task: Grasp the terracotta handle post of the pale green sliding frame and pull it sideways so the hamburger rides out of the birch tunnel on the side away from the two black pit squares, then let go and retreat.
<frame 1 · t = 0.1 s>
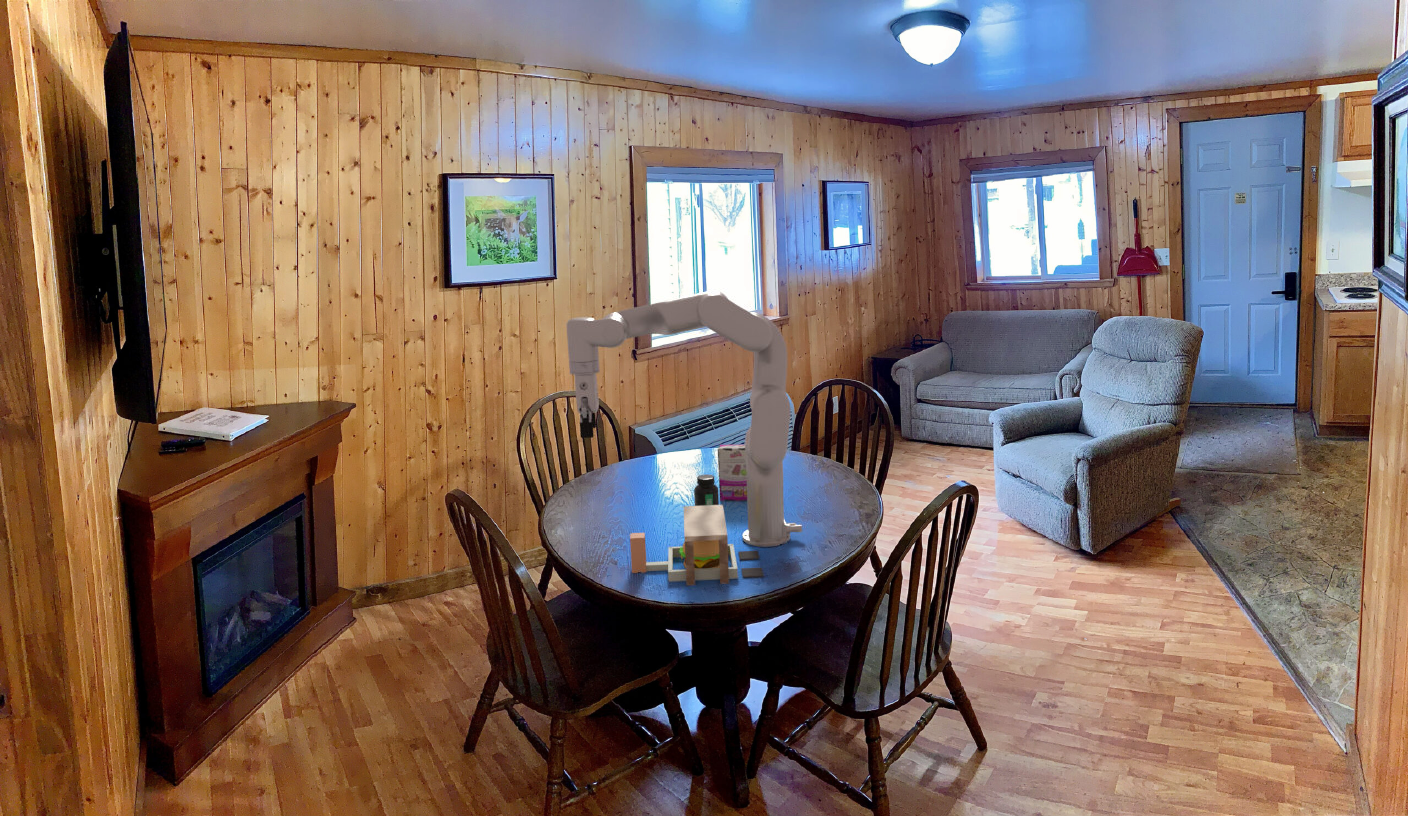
hand: (588, 432, 240), 31 cm above the table, tool pointing down, fingers open, 9 cm apart
pit square 1: (749, 556, 237), on the table
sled: (683, 550, 231), point 4 cm above the table, slide at 0.0 cm
tunnel: (706, 566, 232), on the table
hamburger: (704, 568, 232), on the table
pit square 2: (752, 573, 227), on the table
candy bar box: (738, 499, 282), on the table
supplement bottle: (707, 517, 267), on the table
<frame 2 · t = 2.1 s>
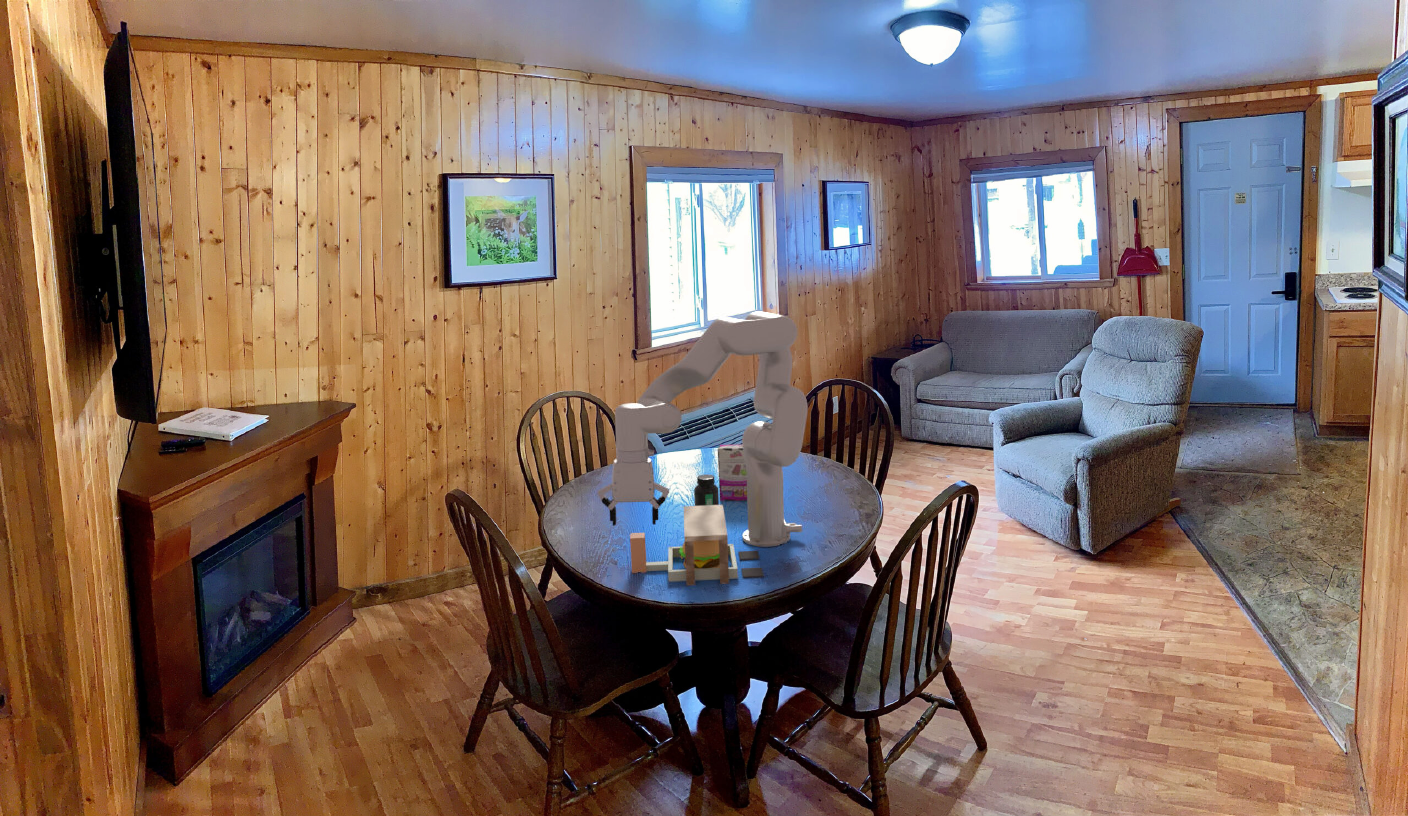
hand: (634, 523, 228), 12 cm above the table, tool pointing down, fingers open, 9 cm apart
nothing on the table moved.
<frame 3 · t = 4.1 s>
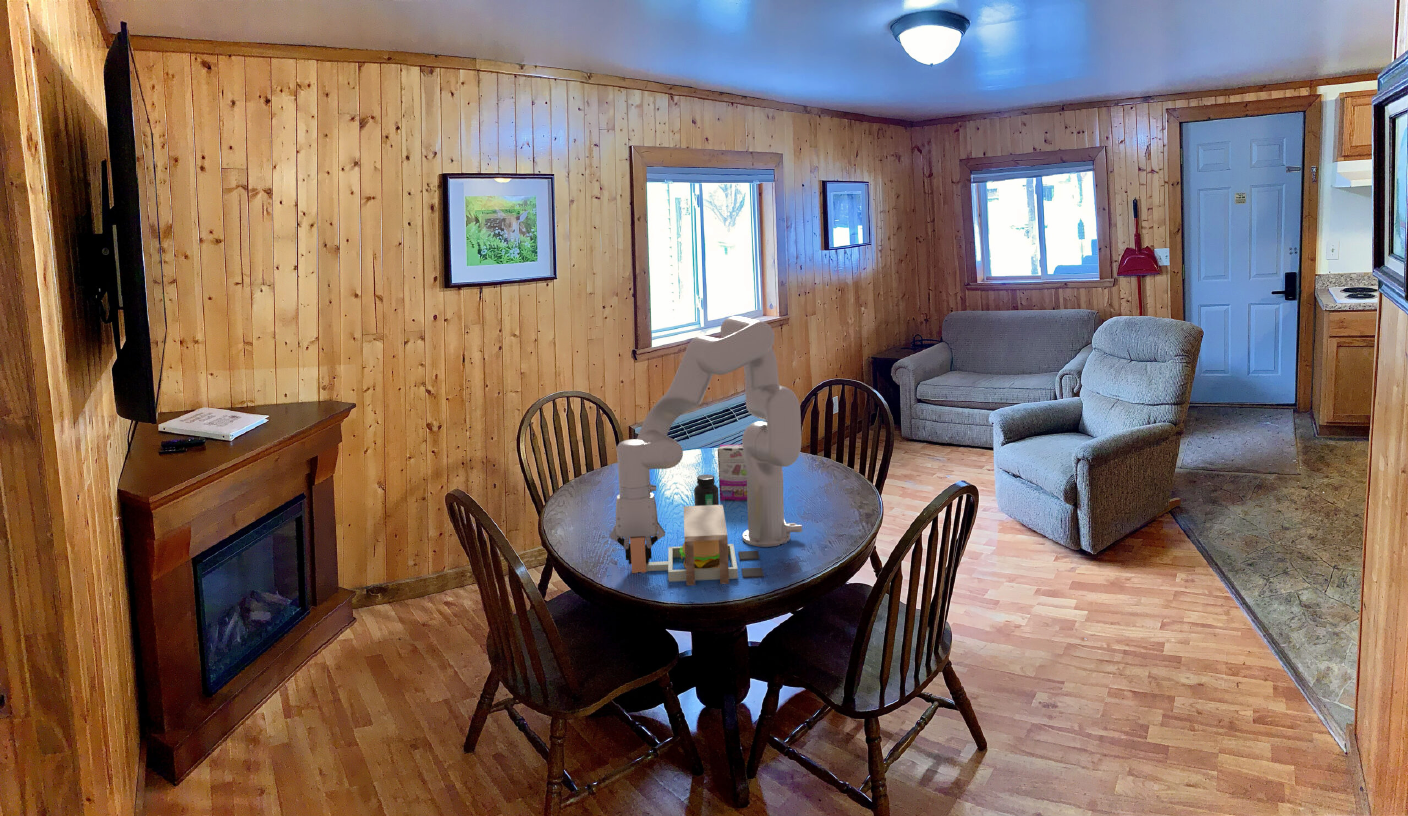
hand: (638, 561, 231), 2 cm above the table, tool pointing down, fingers closed on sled, 3 cm apart
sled: (683, 550, 231), point 4 cm above the table, slide at 0.0 cm, touching gripper
everything else where it was.
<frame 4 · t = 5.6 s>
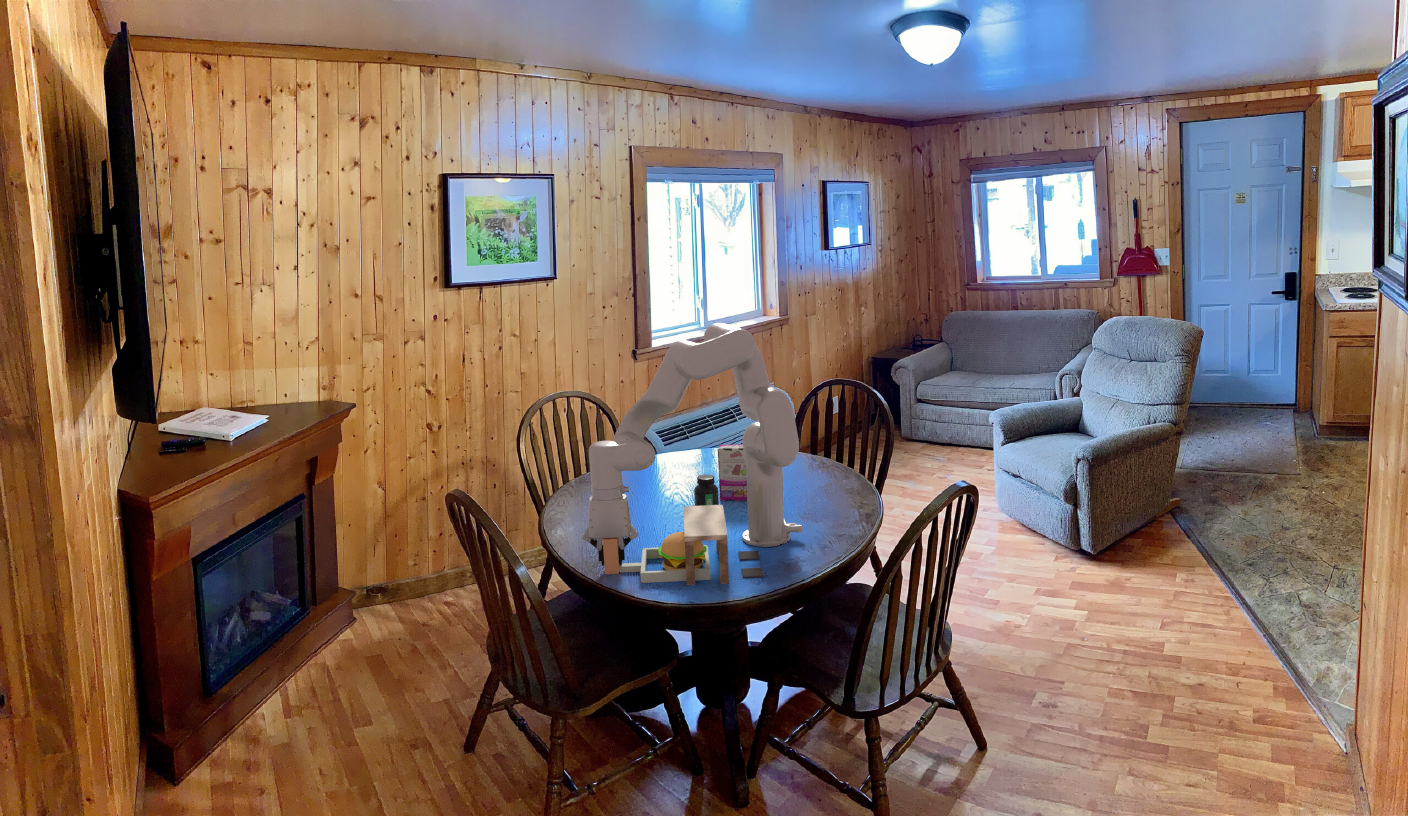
hand: (612, 562, 231), 2 cm above the table, tool pointing down, fingers closed on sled, 3 cm apart
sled: (656, 551, 230), point 4 cm above the table, slide at 6.6 cm, touching gripper, hamburger
hamburger: (683, 567, 232), on the table, touching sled
everything else where it was.
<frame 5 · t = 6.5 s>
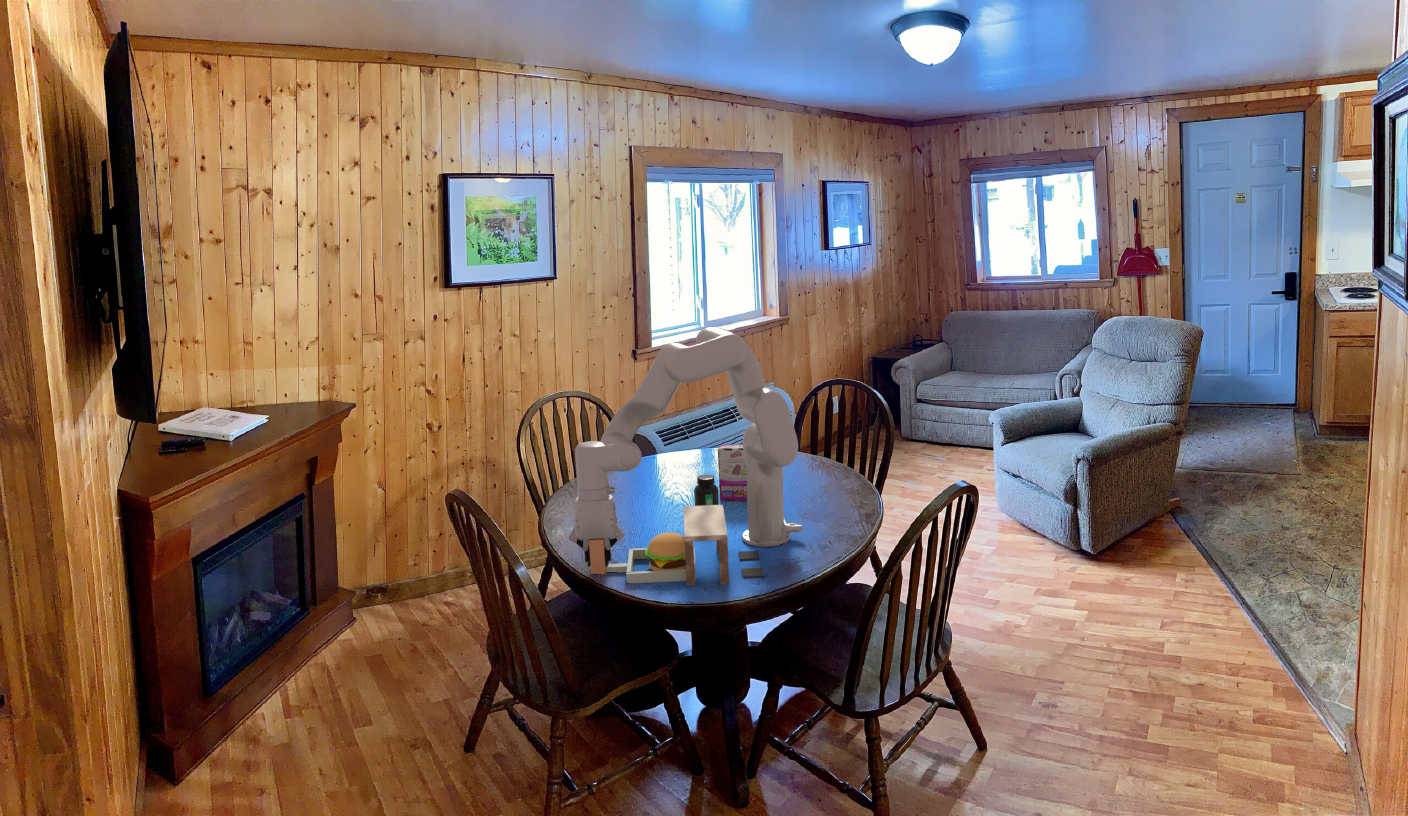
hand: (598, 563, 231), 2 cm above the table, tool pointing down, fingers closed on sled, 3 cm apart
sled: (642, 552, 230), point 4 cm above the table, slide at 9.9 cm, touching gripper
hamburger: (669, 568, 232), on the table
everything else where it was.
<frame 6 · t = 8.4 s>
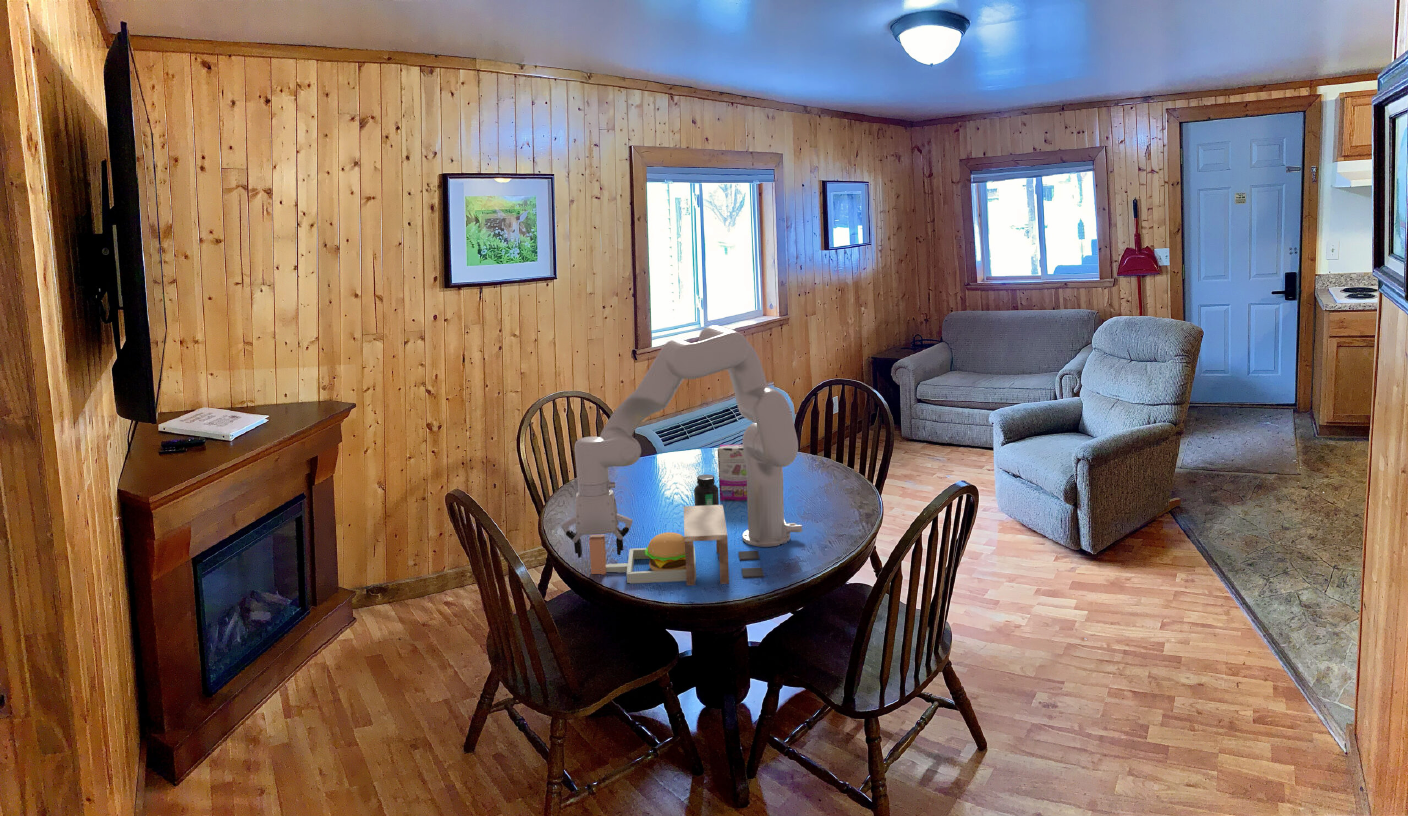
hand: (599, 554, 230), 4 cm above the table, tool pointing down, fingers open, 9 cm apart
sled: (642, 552, 230), point 4 cm above the table, slide at 9.9 cm
everything else where it was.
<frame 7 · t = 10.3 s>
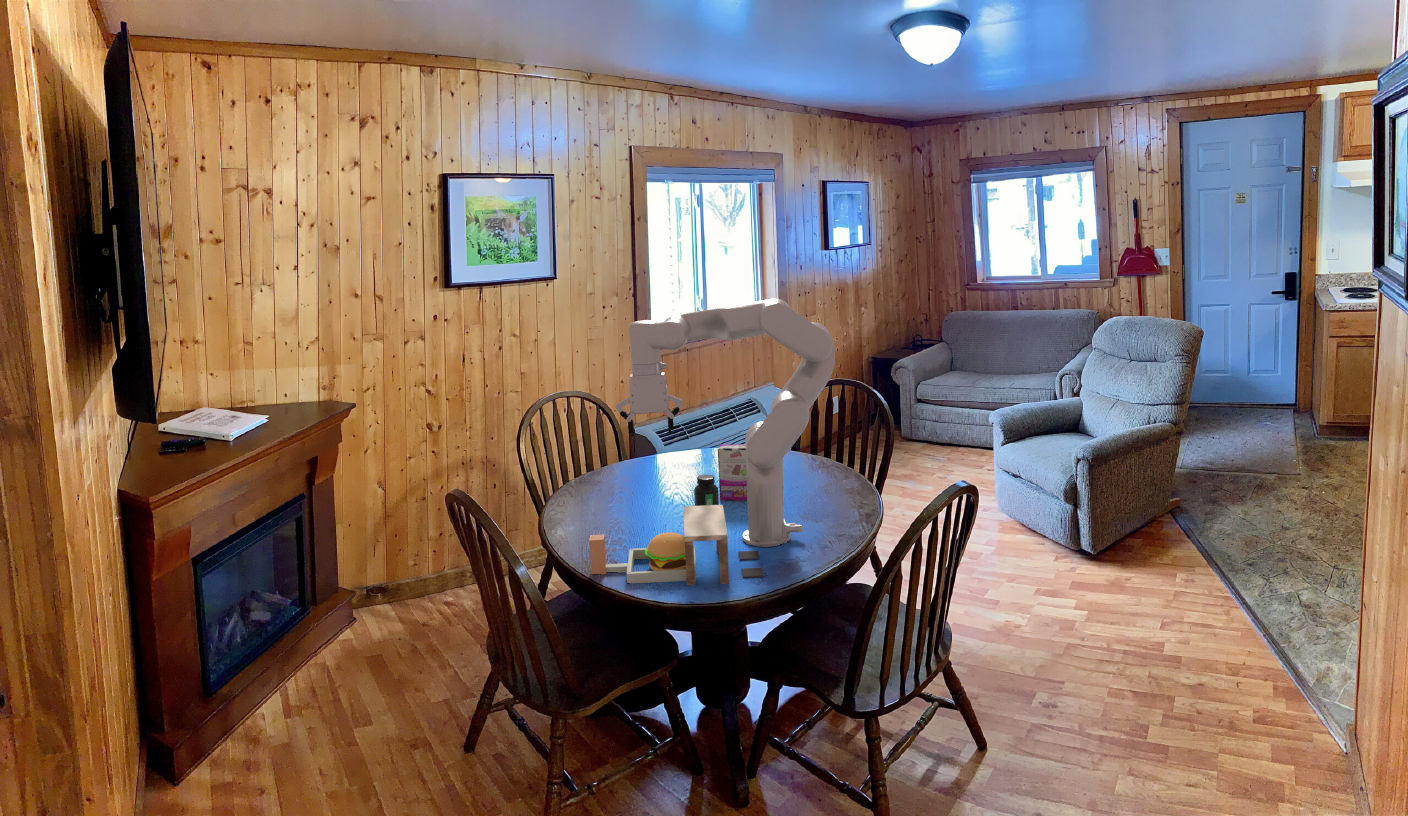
hand: (651, 434, 243), 29 cm above the table, tool pointing down, fingers open, 9 cm apart
nothing on the table moved.
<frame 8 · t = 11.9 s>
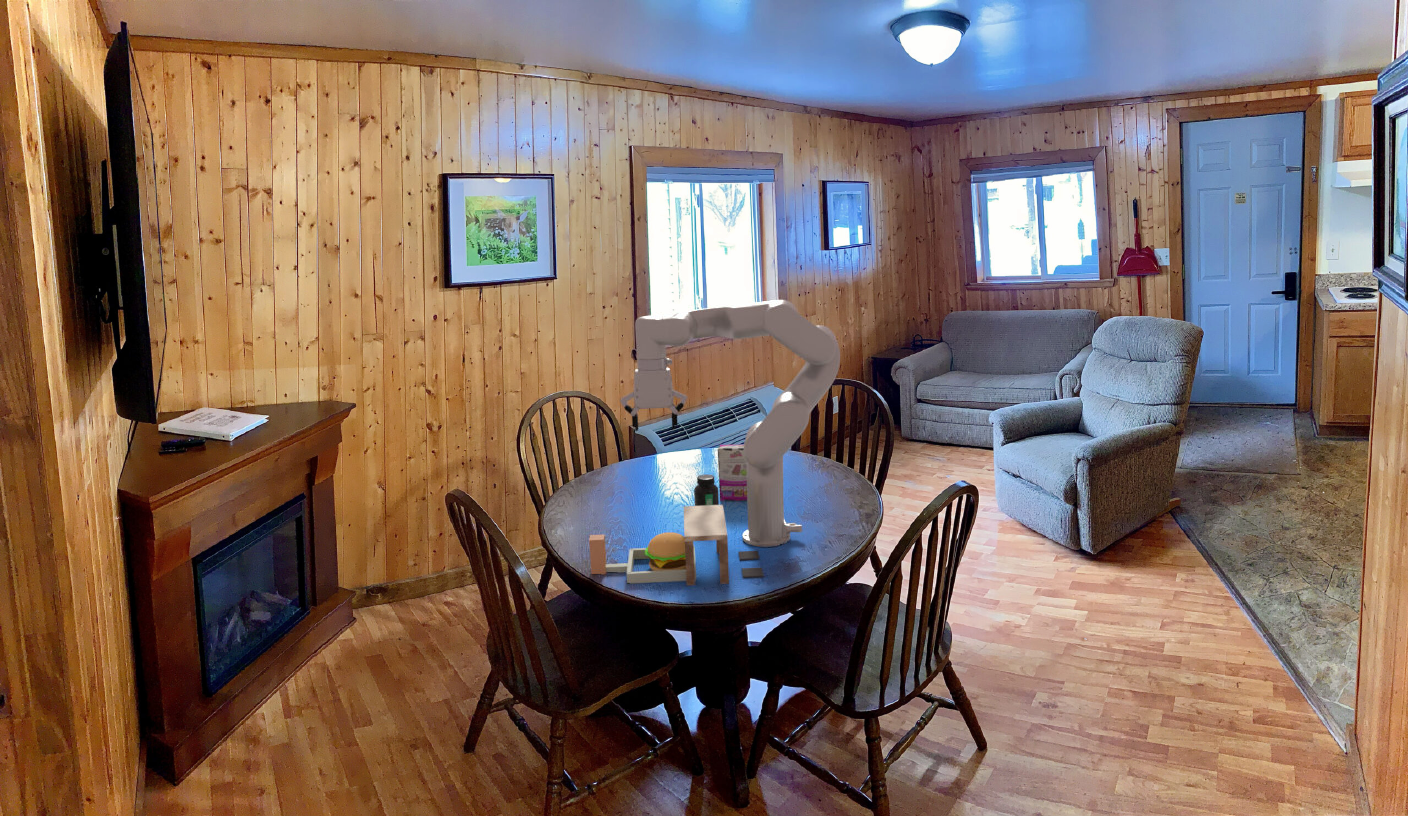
hand: (655, 428, 245), 30 cm above the table, tool pointing down, fingers open, 9 cm apart
nothing on the table moved.
at the end: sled slide at 9.9 cm; hamburger inside the target area on the table beside the tunnel (2.9 cm from its centre), on the table; the gripper is holding nothing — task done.
